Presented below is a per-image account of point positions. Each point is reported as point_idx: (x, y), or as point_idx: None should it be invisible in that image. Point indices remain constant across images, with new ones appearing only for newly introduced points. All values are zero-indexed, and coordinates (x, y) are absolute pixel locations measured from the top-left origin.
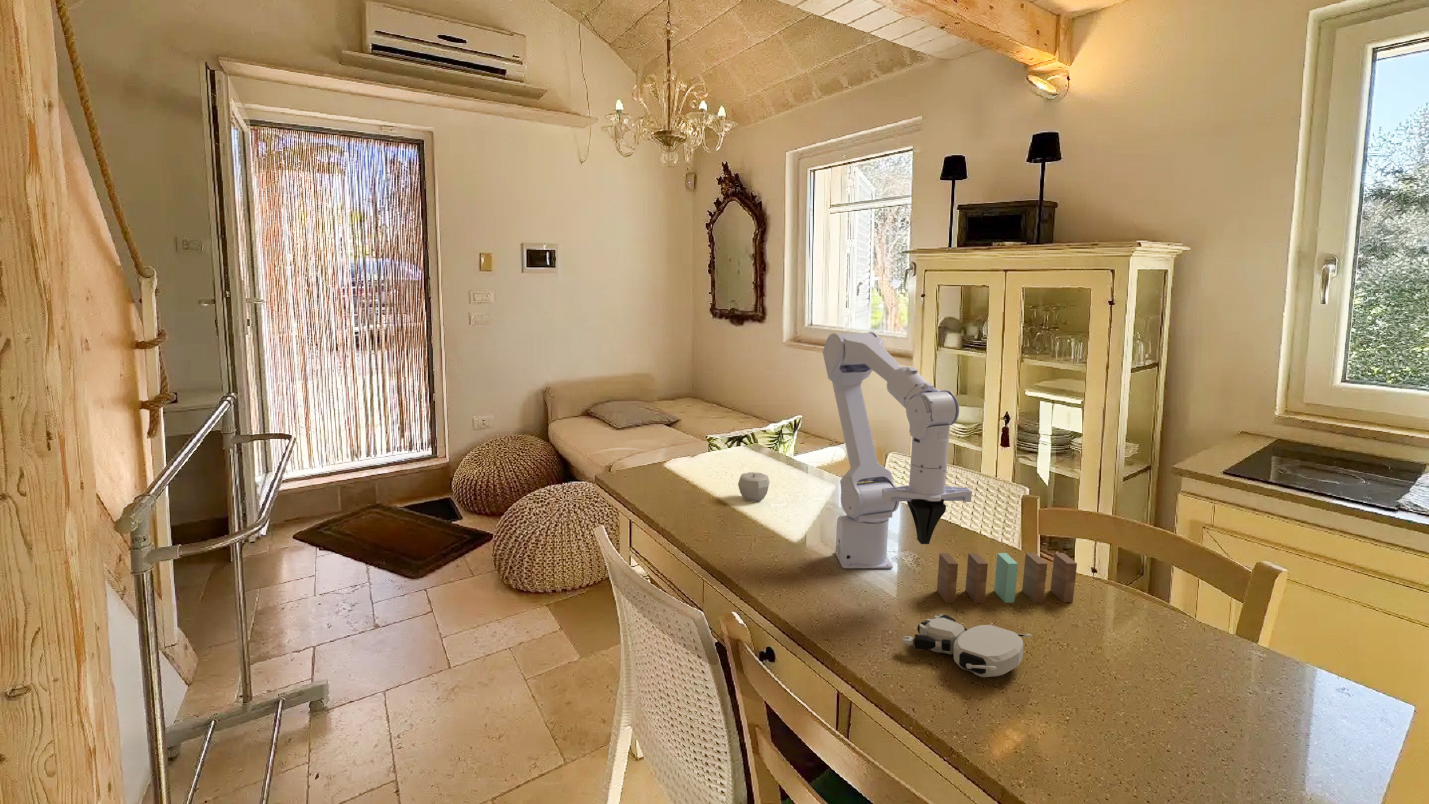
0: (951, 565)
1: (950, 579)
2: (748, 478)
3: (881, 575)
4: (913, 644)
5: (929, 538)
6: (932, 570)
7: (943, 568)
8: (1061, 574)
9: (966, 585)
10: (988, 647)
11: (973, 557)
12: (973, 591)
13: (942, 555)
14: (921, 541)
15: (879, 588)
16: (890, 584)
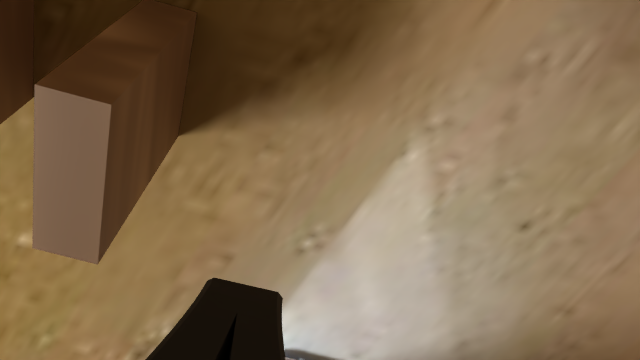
0: (92, 93)
1: (133, 52)
2: None
3: (353, 321)
4: None
5: (204, 308)
6: (103, 298)
7: (132, 148)
8: None
9: (15, 102)
10: None
11: None
12: (8, 13)
13: (94, 229)
14: (280, 310)
15: (440, 230)
16: (364, 247)
